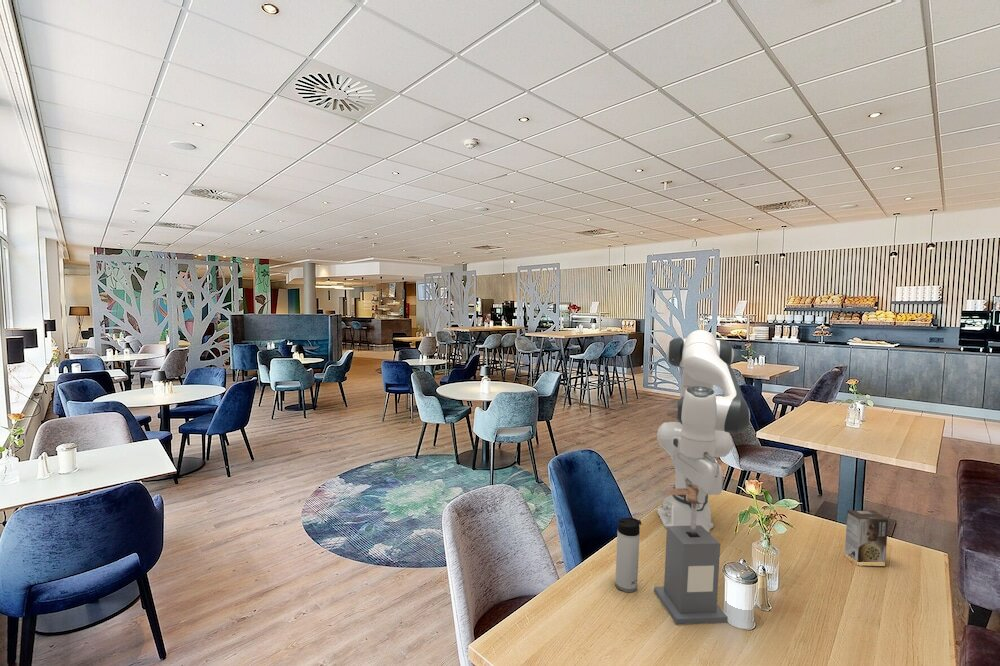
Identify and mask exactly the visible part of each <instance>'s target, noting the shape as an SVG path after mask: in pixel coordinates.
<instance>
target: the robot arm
mask: <svg viewBox="0 0 1000 666" xmlns="http://www.w3.org/2000/svg"><path fill="white" fill-rule="evenodd" d="M665 352H666V358H667V361H668V363H669V364H670V365H671V366H674V367H677V368H680V367H681V368H683V371H682V375H681V380H680V383H681V384H680V397H679V399H678V400H677V417H676V420H677V421H668V422H663V423H662V424H660V426H659V427H658V429H657V433H656V438H657V441H658V444H659V445H660V447H661V448H663V449H664V450H665V452H667V454H668V455H669V457H670V458H671V460H672V466H673V468H674V471H675V480H674V481H675V485H674V484H673V485H672V486H673V487H672V489H678V488H686V487H687V485H697V486H698V490H699V493H698V494H696V500H697V501H698V502H699V503H702V504H697V517H696V526H697V525H701V526H702V527H703V528H704V529H705V530H706V531H707V532H709V533H710V532H711V529H712V528H714V527H713V526H714V523H713V522H711V521H712V518H711V505H710V504H709V503H708V502H709V496H710V495H715V496H716V495H718V496H719V495H721V493H722V491H723V471H722V467H721V465H720V464H719V463H718V460H717V458H724V457H726V456H727V455H729V454H730V453H731V451H732V448H733V439H732V436H731V434H735V435H739V434H740V433H741V432H744V431H745V430H746V429H748V428H749V425H750V420H751V412H750V408H749V406H748V403H747V401H746V400H745V398H744V396H743V393H742V391H741V388H740V386H739V383H738V380H737V377H736V375H735V371H734V370H733V368H732V366H731V365H732V363H733V361H734V357H735V351H734V348H733V346H732V343H730V341H727V340H724V339H716V338H715V336H714V334H713V333H711V332H709V331H707V330H703V329H698V330H694V331H691V332H690V333H688V335H687V337H686V338H685V337H684V338H682V337H677V338H673V339H671V340H670V341H669V343H668V344H667V347H666V351H665ZM714 386H716V387H718V388H720V389H721V390H722V393H723V395H724V396H721V395H716V392H715V390H714ZM691 506H692V503H690V502H688V501H687V500H686V495H668V496H667V497H665V498H664V499H663V503H661V506H660V507H658V509H657V508H656V513H657V514H659V515H658V516H660V517H659V518H660V519H659V520H660V521H661V523H662V524H663V527H664V528H665V529H667V526H690V525H691ZM661 507H662V508H661ZM660 508H661V509H660ZM657 510H658V511H657Z"/></svg>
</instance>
